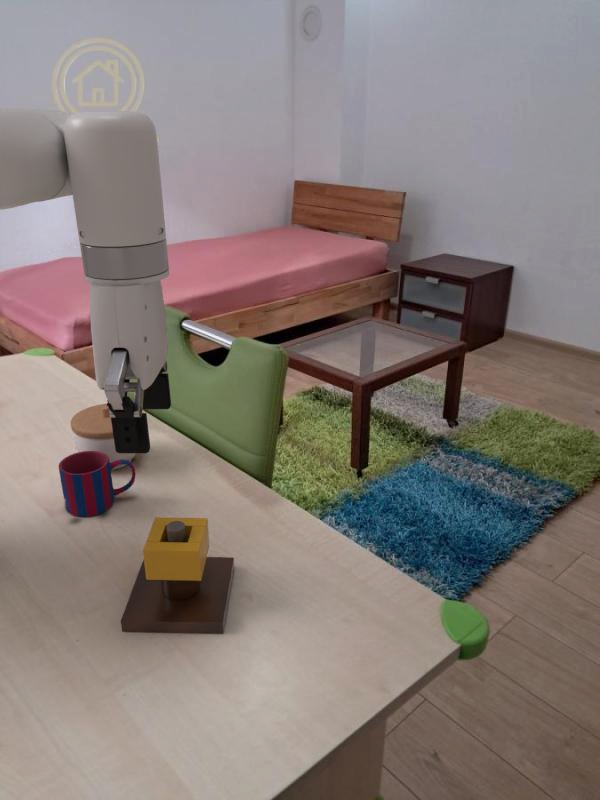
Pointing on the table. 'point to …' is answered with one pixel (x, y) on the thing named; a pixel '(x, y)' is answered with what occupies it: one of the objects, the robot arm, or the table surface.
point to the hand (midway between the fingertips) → (145, 428)
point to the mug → (90, 482)
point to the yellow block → (176, 551)
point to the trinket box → (96, 433)
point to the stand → (181, 597)
